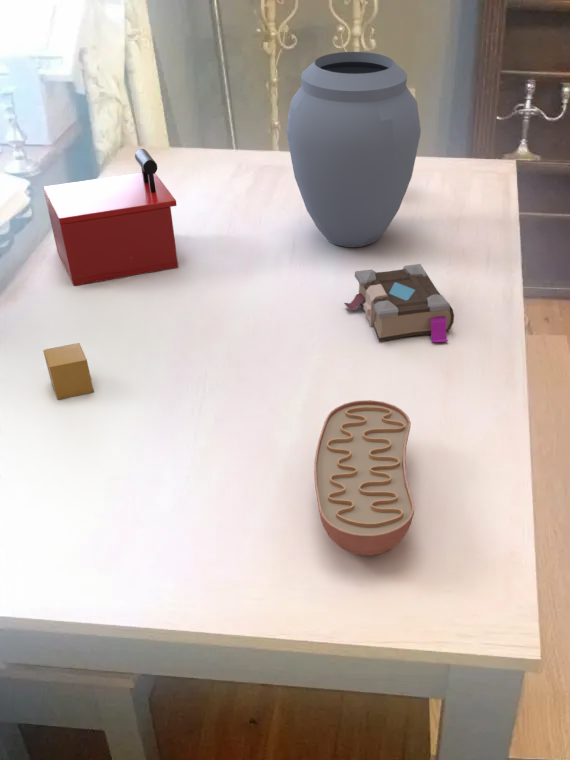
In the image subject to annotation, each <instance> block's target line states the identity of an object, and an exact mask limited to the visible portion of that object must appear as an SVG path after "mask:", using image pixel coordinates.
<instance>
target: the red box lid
mask: <svg viewBox="0 0 570 760" xmlns="http://www.w3.org/2000/svg"><path fill="white" fill-rule="evenodd" d="M134 159H135V161H136V163H138V165H139V167H140V168H141V169H140V170H141V172H135V173H128V174H119V175H114V176H108V177H106V176H105V177H100V178H94V179H93V178H92V179H87V180H80V181H72V182H66V183H60V184H58V183H57V184H52V185H44V186H42V189H43V194H44V193H45V194H44V196H45V195H46V197H47V199H48V201H49V203H50V205H51V207H52V209H53V211H54V213H55V215H56V217H57V219H58V221H59V223H60V224H64V223H71V222H77V221H83V220H90V219H96V218H102V217H109V216H115V215H121V214H128V213H134V212H141V211H147V210H153V209H160V208H166V207H171V208H172V207H176V206H177V200H176V198H175V197H174V196H173V194H172V193H171V192H170V190H169V189H168V188H167V186H166V185H165V184H164V182H163V181H162V180H161V178H159V176H158V174H156V173H157V171H158V165H157V162H156V161H155V160H154V158H153V157H152V156H151V154H150V153H149V152H148V151H147V150H146V149H145V148H139V149H137V150H136V151H135V153H134Z"/></svg>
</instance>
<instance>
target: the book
mask: <svg viewBox="0 0 570 760" xmlns="http://www.w3.org/2000/svg"><path fill="white" fill-rule="evenodd" d="M354 278H355V279H356V280H357V282H358V293H357V294H355V296H354V297H353V300H352V301H350V302H343V304H344V305H345V306H346V308H347V309H348V310H353V311H354V310H357V309H358V308H359V307H360V308H361V309H362V310H363V312H364V314H365V316H364V317H365V318H366V319H367V320H368V323H369V325H370V328H371V327H373V328H374V331H375V334H376V336H377V337H376V338H377V341H378V342H379V343H380V342H385V341H389V340H395V339H400V338H405V337H407V338H408V337H410V336H411V337H413V336H423V335H424V336H425V335H430V337H431V338H430V340H431V342H432V343H443V342H449V339H447V334H448V333H449V331H450V330H451V328H452V326H453V324H454V319H455V314H454V309H453V307H452V305H450V303H449V302H448V300H447V299H446V298H445V296H443V295H442V294H441V293H440V292H439V290H438V289H437V287H436V286H435V285H434V283H433V281H432V280H431V278H430V276H429V274H428V273H427V271H426V270H425V269H424V267H423V265H422V264H421V263H415V264H407V265H404V266H403V267H402V268H401V269H396V270H395V269H394V270H388V271H378V272H376V271H375V270H373V269H362V270H356V271H354Z"/></svg>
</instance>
